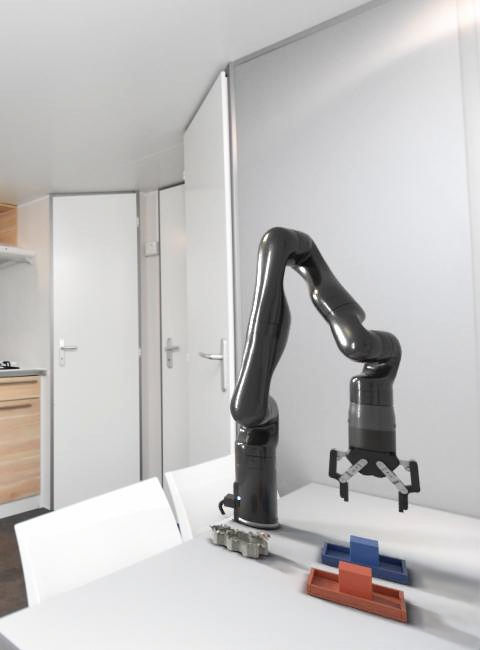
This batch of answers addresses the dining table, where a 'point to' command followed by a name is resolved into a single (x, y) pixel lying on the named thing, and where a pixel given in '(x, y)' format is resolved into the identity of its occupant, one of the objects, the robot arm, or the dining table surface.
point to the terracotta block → (355, 580)
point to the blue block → (364, 551)
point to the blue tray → (387, 565)
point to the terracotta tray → (383, 597)
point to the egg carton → (241, 540)
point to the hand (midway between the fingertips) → (372, 506)
